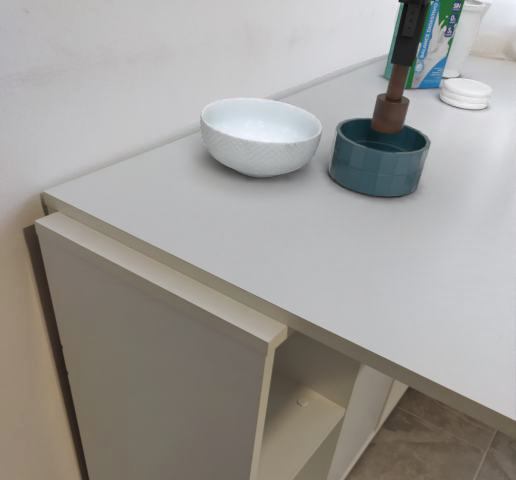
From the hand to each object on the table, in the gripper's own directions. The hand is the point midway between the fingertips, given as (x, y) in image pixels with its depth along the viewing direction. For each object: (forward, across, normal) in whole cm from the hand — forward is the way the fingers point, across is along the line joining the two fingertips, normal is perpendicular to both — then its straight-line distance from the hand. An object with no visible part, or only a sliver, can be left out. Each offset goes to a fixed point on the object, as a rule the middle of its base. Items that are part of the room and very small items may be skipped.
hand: (402, 61), depth 69 cm
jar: (+16, -70, +5) cm, 72 cm away
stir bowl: (+16, 0, 0) cm, 16 cm away
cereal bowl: (+16, +5, -17) cm, 24 cm away
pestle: (+8, 0, 0) cm, 8 cm away
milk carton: (+16, -57, -1) cm, 59 cm away
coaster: (+16, -49, +11) cm, 53 cm away
